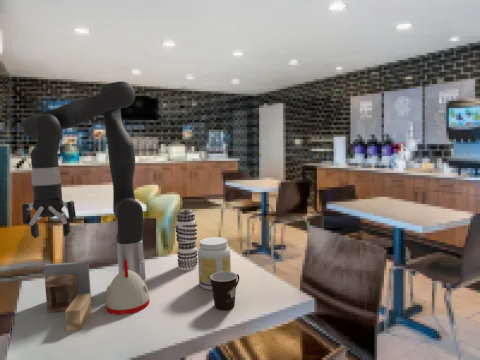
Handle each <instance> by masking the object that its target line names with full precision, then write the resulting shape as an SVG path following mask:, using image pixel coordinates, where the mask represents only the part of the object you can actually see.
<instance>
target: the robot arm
mask: <svg viewBox="0 0 480 360" xmlns="http://www.w3.org/2000/svg"><path fill="white" fill-rule="evenodd" d="M135 99H136V92H135V89H134V88H133V86H132V85H131V84H130V83H129V82H127V81H115V82H114V81H113V82H109V83H105V84H103V85H102V86H101V88H100V91H99V93H98V94H95V95H92V96H87V97H83V98H79V99H77V100H74V101H70V102H68V103H67V102H66V104H63V105H61V106H58V107H55V108H53V109H49V110H46V111H42V112H38V113H35V114H33V115H29V116H28V117H27V118H26V119H25V120H24V122H23V123H22V124H23V125H22V127H23V128H22V129H23V132H24V133H25V134H26V136H28V137H29V138H31V139H34V140H37V143H36V147H35V148H34V147H33V149H32V150H31V151H30V163H31V184H32V196H33V202H32V203H30V202H25V203H23V204H22V205H21V206H22V208H21V209H22V211H21V212H22V223H23V225H29V226H30V234H31V236H32V237H33V238H34V239H37V238H39V236H40V232H39V231H40V229H39V223H38V222H39V221H40V219H42V218H47V217H50V218H54V217H56V218H57V219H58V220H60V221H61V222H62V233H63V236H64V237H67V236H69V234H70V233H71V224H70V223H71V222H74V221H75V220H76V219H77V215H76V207H75V201H73V200H69V201H64V200H63V191H62V180H61V179H62V178H61V171H60V166H59V163H60V162H59V149H60V143H61V139H62V130H68V129H70V128H73V127H76V126H79V125H81V124H82V123H85V122H87V121H89V120H92V119H93V118H95V117H97V116H100V115H102V116H103V121H104V126H105V134H106V135H105V136H106V141H107V143H106V144H107V154H108V163H109V170H110V175H111V182H112V187H113V188H112V189H113V191H112V197H113V199H112V202H113V203H112V211H113V215H114V217H115V219H117V234H116V247H117V249H116V251H117V264H118V265H117V269H118V274H119V273H120V272H122V271H124V260H127V267H128V270H131V271H133V272H135V273H137V274H138V275H139V276H140V277H141V279H142V280H145V281H147V280H146V279H147V278H146V261H145V260H146V259H145V256H144V245H143V242H144V241H143V234H144V230H145V229H144V210H143V207H142V205H141V202H139V201H137V200H136V197H135V192H134V175H135V170H136V154H135V146H134V144H135V143H134V142H133V140H132V137H131V136H130V134H129V133H128V131H127V130H126V128H125V126H124V123H123V121H122V113H121V109H125V108H128V107H130V106H132V105H133V103H134V102H135ZM64 207H65V209H66V210H67V213H68V214H67V213H65V211H64V210H63V208H64ZM33 209H34V210H35V213H34V215H32V213H31V211H32V210H33ZM67 215H68V216H67ZM31 217H32V218H31Z"/></svg>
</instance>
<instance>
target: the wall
mask: <svg viewBox="0 0 480 360" xmlns="http://www.w3.org/2000/svg"><path fill="white" fill-rule="evenodd" d="M43 270H44V280H45V281H46V280H47V279H48V278H49V277H50V276H53V275H67V274H76V280H77V293H78V294H89V293H91V292H92V291H91V290H92V289H91V279H90V266H89V261H75V262H61V263H59V262H58V263H47V264H44V265H43ZM45 281H44V282H45ZM91 294H92V293H91Z"/></svg>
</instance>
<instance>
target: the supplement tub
mask: <svg viewBox="0 0 480 360" xmlns="http://www.w3.org/2000/svg"><path fill="white" fill-rule="evenodd" d="M197 259H198V260H197V262H198V263H197V265H198V267H197V268H198V283H199V286H200V287H201V288H202V289H205V290H208V291H212V285H211V278H210V276H211V275H212V274H214V273H217V272H232V266H231V265H232V264H231V260H232V259H231V248H230V247H229V243H228V239H227V238H225V237H221V236H220V237H218V236H217V237H216V236H213V237H206V238H203V239H200V240H199V248H198V250H197Z"/></svg>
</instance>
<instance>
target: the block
mask: <svg viewBox="0 0 480 360" xmlns="http://www.w3.org/2000/svg"><path fill="white" fill-rule="evenodd" d="M44 286H45V298H46V309H47V313H53V312H54V313H55V312H65V311H66V310H67V308H68V307H69V305H70V304H71V303H72V301H73V300H74V299H75V297H76V296H77V295H78V293H77V280H76V274H67V275H53V276H50V277H49V278H48V279H47V280H46V281H44Z"/></svg>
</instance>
